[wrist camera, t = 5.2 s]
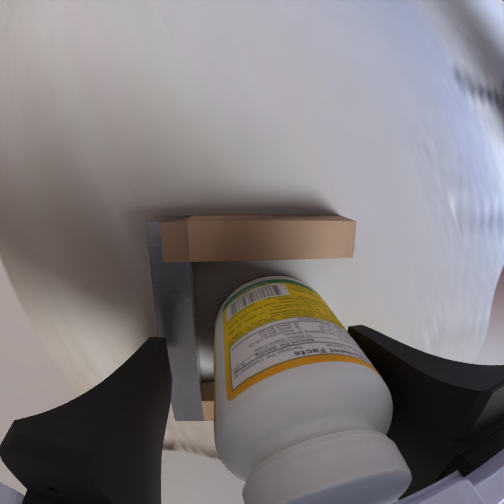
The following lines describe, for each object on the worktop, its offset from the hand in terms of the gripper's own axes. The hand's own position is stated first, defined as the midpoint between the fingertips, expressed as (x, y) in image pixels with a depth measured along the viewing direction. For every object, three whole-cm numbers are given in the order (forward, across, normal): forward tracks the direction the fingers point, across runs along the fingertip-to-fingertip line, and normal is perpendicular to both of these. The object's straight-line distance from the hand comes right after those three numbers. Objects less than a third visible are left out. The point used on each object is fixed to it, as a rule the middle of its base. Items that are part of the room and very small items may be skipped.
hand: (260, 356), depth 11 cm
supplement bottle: (+3, -1, 0) cm, 3 cm away
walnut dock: (+3, 0, 0) cm, 3 cm away
